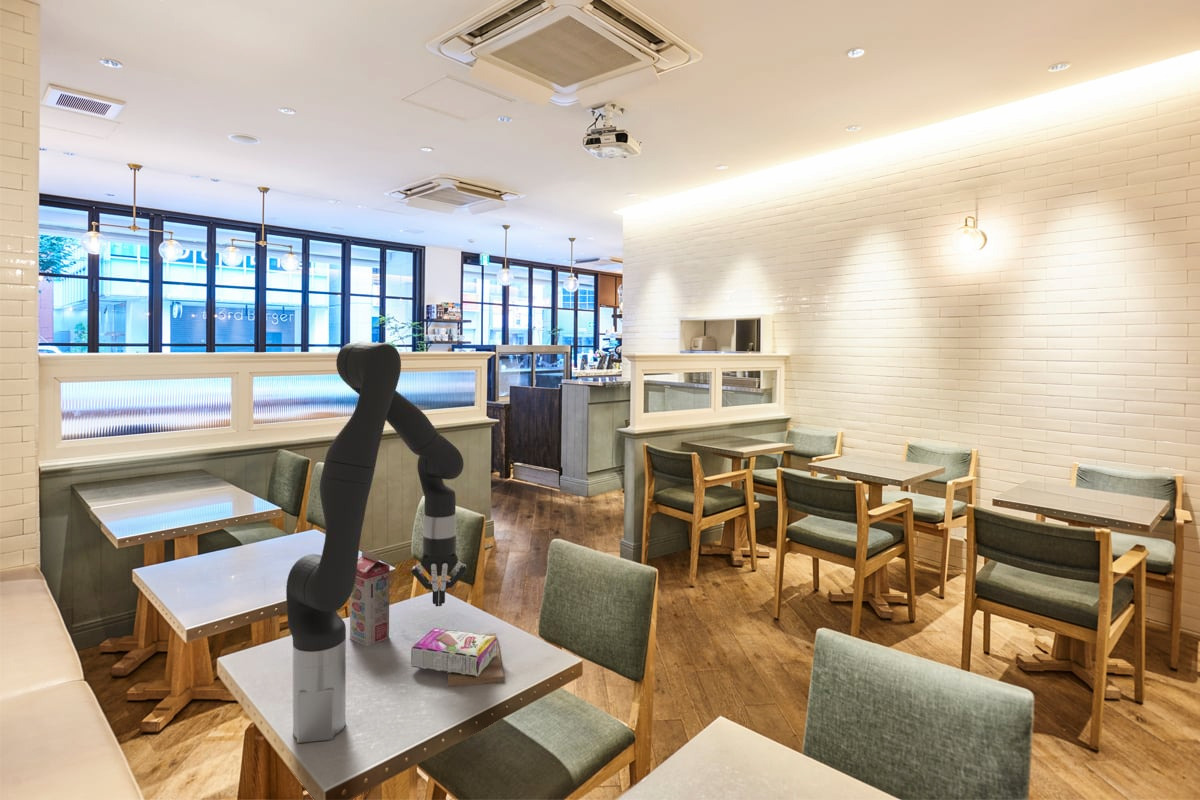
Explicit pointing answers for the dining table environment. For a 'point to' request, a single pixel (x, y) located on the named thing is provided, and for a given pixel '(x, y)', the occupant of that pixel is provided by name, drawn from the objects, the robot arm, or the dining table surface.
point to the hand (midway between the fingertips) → (438, 605)
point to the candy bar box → (454, 652)
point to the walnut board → (488, 675)
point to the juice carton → (370, 601)
